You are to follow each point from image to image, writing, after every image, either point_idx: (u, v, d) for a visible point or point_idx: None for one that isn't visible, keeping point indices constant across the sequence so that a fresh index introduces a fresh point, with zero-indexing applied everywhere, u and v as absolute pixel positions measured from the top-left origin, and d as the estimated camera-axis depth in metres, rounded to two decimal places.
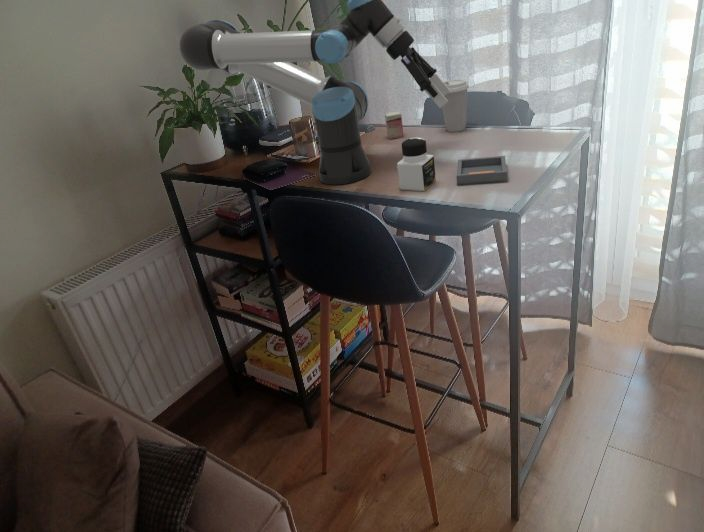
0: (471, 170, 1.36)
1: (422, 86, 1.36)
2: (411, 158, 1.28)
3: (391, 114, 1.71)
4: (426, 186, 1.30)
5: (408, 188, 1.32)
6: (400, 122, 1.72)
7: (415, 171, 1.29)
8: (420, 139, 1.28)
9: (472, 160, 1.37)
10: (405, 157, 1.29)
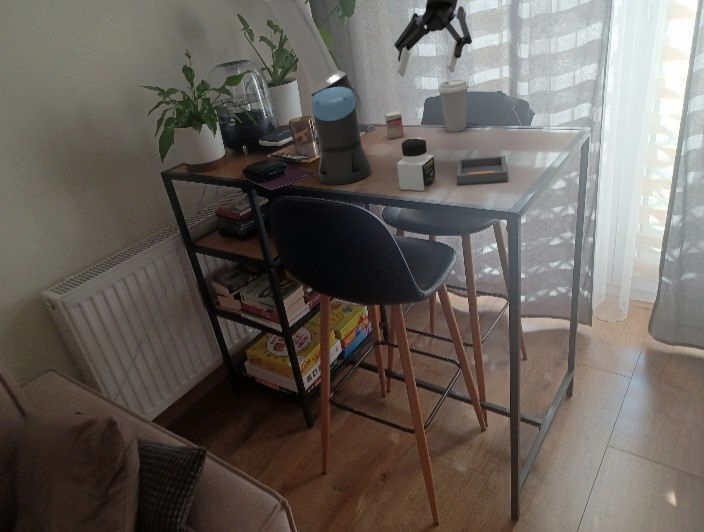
0: (471, 170, 1.36)
1: (469, 37, 1.25)
2: (411, 158, 1.28)
3: (391, 114, 1.71)
4: (426, 186, 1.30)
5: (408, 188, 1.32)
6: (400, 122, 1.72)
7: (415, 171, 1.29)
8: (420, 139, 1.28)
9: (472, 160, 1.37)
10: (405, 157, 1.29)
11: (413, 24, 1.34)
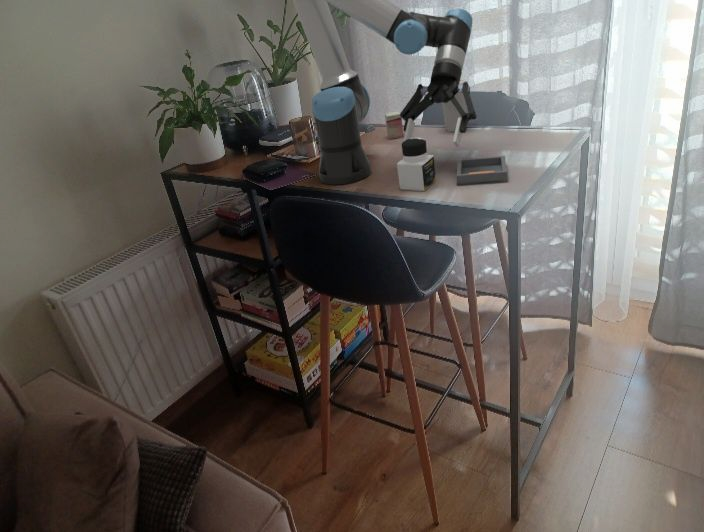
0: (471, 170, 1.36)
1: (474, 113, 1.28)
2: (411, 158, 1.28)
3: (391, 114, 1.71)
4: (426, 186, 1.30)
5: (408, 188, 1.32)
6: (400, 122, 1.72)
7: (415, 171, 1.29)
8: (420, 139, 1.28)
9: (472, 160, 1.37)
10: (405, 157, 1.29)
11: (418, 95, 1.37)
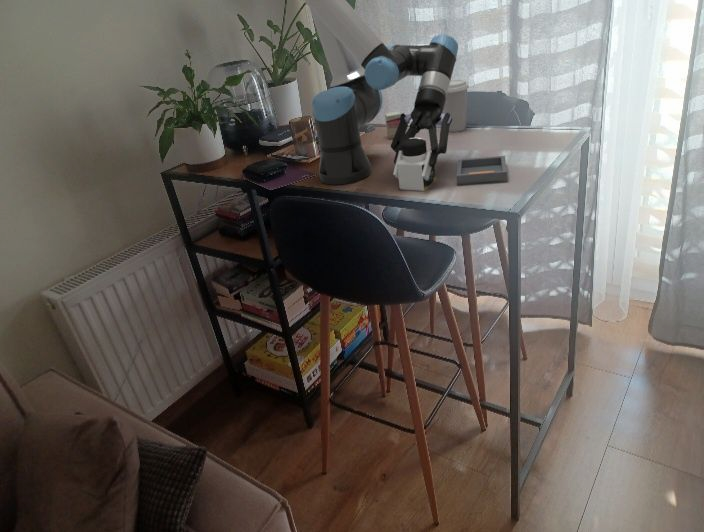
0: (471, 170, 1.36)
1: (443, 148, 1.27)
2: (410, 158, 1.28)
3: (391, 114, 1.71)
4: (425, 186, 1.30)
5: (408, 188, 1.32)
6: None
7: (415, 171, 1.29)
8: (420, 139, 1.28)
9: (472, 160, 1.37)
10: (405, 157, 1.29)
11: (404, 124, 1.34)
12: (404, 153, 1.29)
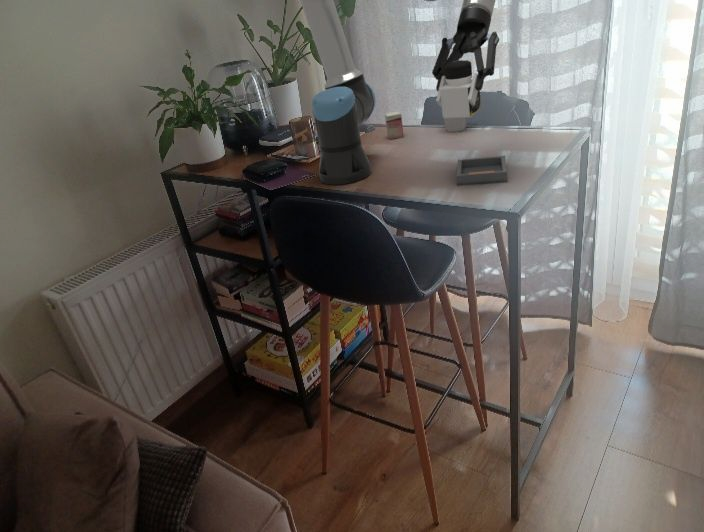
0: (471, 170, 1.36)
1: (491, 68, 1.18)
2: (455, 81, 1.19)
3: (391, 114, 1.71)
4: (471, 112, 1.21)
5: (452, 116, 1.23)
6: (400, 122, 1.72)
7: (460, 95, 1.20)
8: (465, 60, 1.19)
9: (472, 160, 1.37)
10: (449, 81, 1.20)
11: (446, 48, 1.26)
12: (448, 76, 1.20)
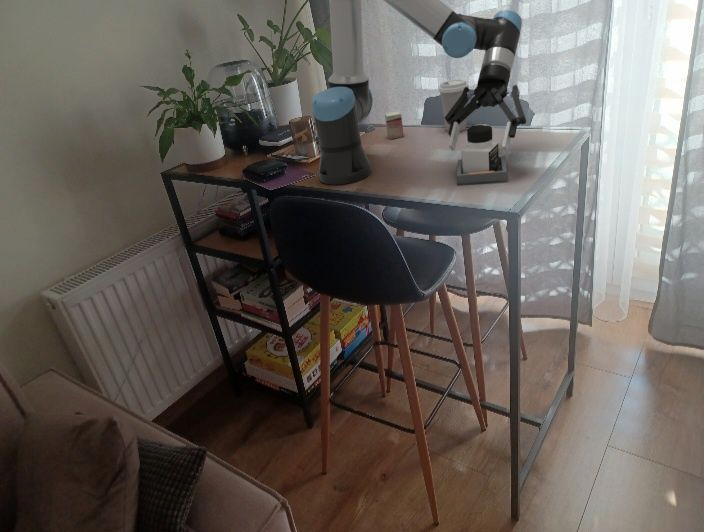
0: None
1: (524, 118, 1.24)
2: (477, 145, 1.27)
3: (391, 114, 1.71)
4: None
5: None
6: (400, 122, 1.72)
7: (481, 157, 1.28)
8: (486, 125, 1.27)
9: None
10: (471, 144, 1.28)
11: (464, 98, 1.33)
12: (470, 140, 1.28)
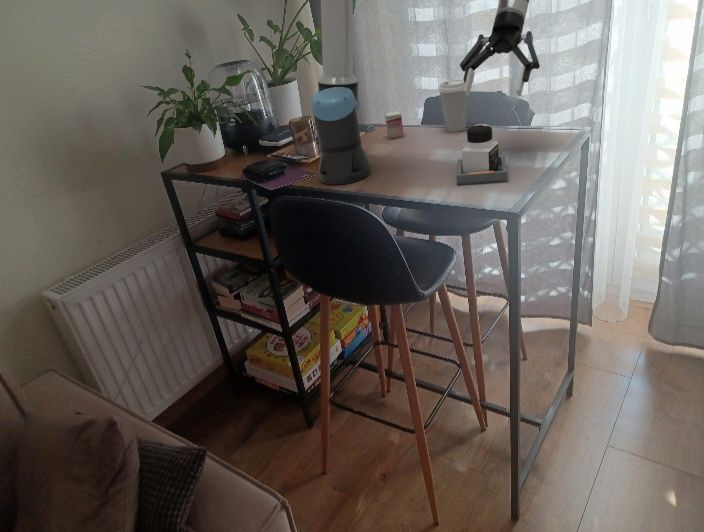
0: None
1: (538, 62, 1.28)
2: (477, 145, 1.27)
3: (391, 114, 1.71)
4: None
5: None
6: (400, 122, 1.72)
7: (481, 157, 1.28)
8: (486, 125, 1.27)
9: None
10: (471, 144, 1.28)
11: (479, 45, 1.37)
12: (470, 140, 1.28)
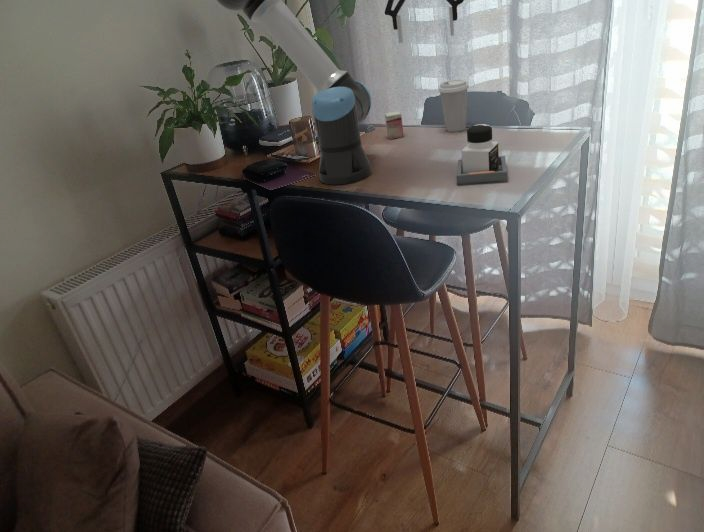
0: None
1: (463, 0, 1.32)
2: (477, 145, 1.27)
3: (391, 114, 1.71)
4: None
5: None
6: (400, 122, 1.72)
7: (481, 157, 1.28)
8: (486, 125, 1.27)
9: None
10: (471, 144, 1.28)
11: None
12: (470, 140, 1.28)
